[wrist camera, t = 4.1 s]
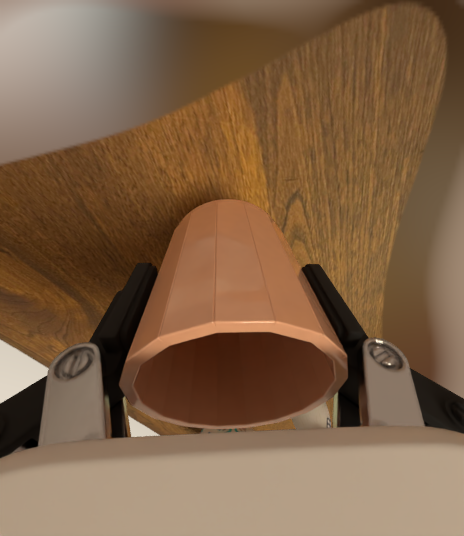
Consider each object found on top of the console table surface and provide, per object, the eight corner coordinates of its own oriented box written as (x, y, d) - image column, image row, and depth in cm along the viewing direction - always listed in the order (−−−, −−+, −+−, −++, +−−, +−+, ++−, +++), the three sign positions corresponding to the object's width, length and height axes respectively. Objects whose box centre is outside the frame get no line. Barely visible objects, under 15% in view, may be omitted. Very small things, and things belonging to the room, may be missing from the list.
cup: (163, 196, 11) (79, 323, 4) (293, 200, 11) (394, 320, 5) (178, 293, 15) (146, 432, 8) (272, 293, 15) (312, 425, 9)
